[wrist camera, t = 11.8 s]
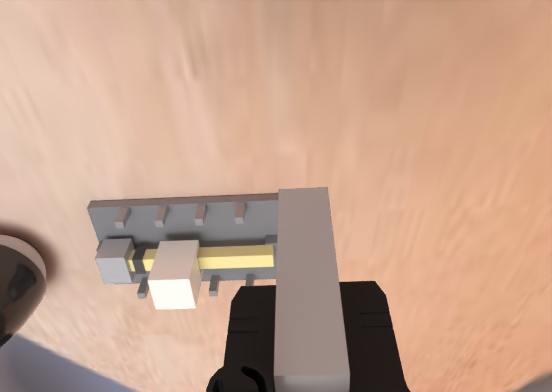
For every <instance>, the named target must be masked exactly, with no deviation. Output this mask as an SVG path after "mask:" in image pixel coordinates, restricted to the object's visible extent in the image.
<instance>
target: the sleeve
mask: <svg viewBox="0 0 552 392" xmlns="http://www.w3.org/2000/svg"><path fill="white" fill-rule="evenodd" d="M198 250H199V241H198V240H183V241H160V243H159V246H158V250H157V253H156V256H155V259H154V262H153V265H152V268H151V271H150V274H149V277H148V280H147V281H148V284H149V288H150V291H151V294H152V298H153V301H154V305H155V308H156V310H157V309H191V308H196V305H197V300H198V295H199V290H200V285H201V280H202V275H203V270H204V269H199V264H198V259H197V254H198Z"/></svg>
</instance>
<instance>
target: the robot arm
mask: <svg viewBox="0 0 552 392" xmlns="http://www.w3.org/2000/svg"><path fill="white" fill-rule="evenodd" d="M229 318H230V321H229V325H228V335H227V341H226V349H225V357H224V366H223V367H222V368H220V369H218V371H217V372H216V373H215V374H214V375H213V376H212V377H211V379H210V381H209V384H208V386H207V389H206V392H410V390H409V389H408V387H407V385H406V382H405V379H404V375H403V370H402V366H401V361H400V357H399V352H398V348H397V343H396V339H395V334H394V330H393V325H392V321H391V316H390V312H389V307H388V303H387V298H386V295H385V294H384V292H383V291H382V290H381V288H380V287H379V286H378V285H377V283H376V282H375V281H357V282H339V278H338V270H337V262H336V253H335V245H334V236H333V228H332V220H331V211H330V203H329V195H328V187H321V188H297V189H279V197H278V234H277V272H276V285H267V286H241V287H240V289H239V290H238V292H237V293H236V295H235V297H234V298H233V300H232V301H231V309H230V317H229Z"/></svg>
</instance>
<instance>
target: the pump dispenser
mask: <svg viewBox="0 0 552 392" xmlns="http://www.w3.org/2000/svg"><path fill="white" fill-rule="evenodd" d="M45 292H46V268H45V265H44V262H43V260H42V258H41V256H40V255H39V253H38V252H37V251H36V250H35V249H34V248H33V247H32V246H30V245H29V244H28V243H26V242H24V241H22V240H20V239H18V238H15V237H12V236H7V235H0V348H1V347H2V346H3V345H4V344H6V342H8V341H9V340H10V339H11V338H12V337H13V336H14V335H15V334H16V333H17V332H18V331H19V330H20V329H21V328H22V326H23V325H24V324H25V323H26V322H27V320H28V319H29V318H30V317H31V315H32V314H33V313H34V311H35V310H36V309H37V307H38V306H39V304H40V303H41V301H42V299H43V297H44V295H45Z"/></svg>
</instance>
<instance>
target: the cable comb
mask: <svg viewBox="0 0 552 392" xmlns="http://www.w3.org/2000/svg"><path fill="white" fill-rule="evenodd" d="M278 197H279V193H276V194H252V195H228V196H204V197H180V198H156V199H132V200H108V201H91V202H90V204H89V205H88V207H87V209H88V212H89V215H90V218H91V221H92V224H93V226H94V229H95V232H96V235H97V238H98V241H99V246H98V248H97V255H96V257H95V260H96V263H97V266H98V269H99V271H100V274H101V277H102V279H103V282H104V284H133V283H141V284H140V287H139V290H138V293H137V295H138V298H139V299H142V298H146V296H147V293H148V290H149V284H148V281H147V280H148V277H149V274H150V271H151V268H152V265H153V262H154V259H155V256H156V253H157V250H158V246H159V243H160V241H183V240H198V241H199V250H198V254H197V259H198V264H199V269H204V270H203V275H202V280H201V281H211V282H210V288H209V295H210V296H217V293H218V287H219V281H226V280H246V286H254V280H256V279H276V272H277V234H278Z"/></svg>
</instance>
